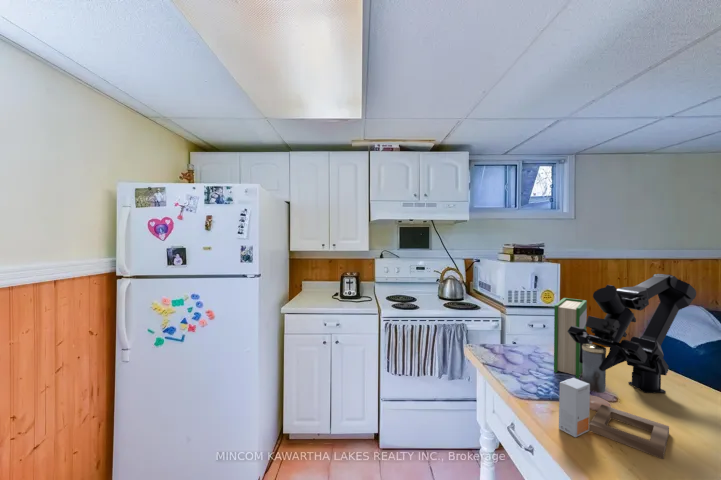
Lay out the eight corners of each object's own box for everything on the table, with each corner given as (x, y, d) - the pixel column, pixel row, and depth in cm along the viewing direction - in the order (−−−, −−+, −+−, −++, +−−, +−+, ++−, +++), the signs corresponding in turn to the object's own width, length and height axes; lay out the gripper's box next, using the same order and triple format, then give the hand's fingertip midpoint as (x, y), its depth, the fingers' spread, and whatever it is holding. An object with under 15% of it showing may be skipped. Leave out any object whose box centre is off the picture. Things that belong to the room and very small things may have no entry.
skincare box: (576, 438, 76) (576, 389, 76) (558, 428, 79) (558, 381, 79) (590, 431, 78) (590, 383, 78) (572, 422, 82) (572, 376, 82)
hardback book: (578, 378, 108) (579, 308, 107) (553, 372, 112) (554, 305, 112) (585, 362, 121) (586, 300, 120) (563, 357, 126) (563, 297, 125)
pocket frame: (601, 410, 88) (601, 404, 88) (668, 433, 78) (669, 426, 78) (589, 430, 79) (589, 423, 79) (663, 459, 69) (663, 451, 69)
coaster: (596, 396, 95) (596, 394, 95) (618, 411, 87) (618, 408, 87) (570, 397, 95) (570, 394, 95) (589, 411, 87) (589, 408, 87)
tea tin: (601, 385, 93) (601, 344, 93) (609, 394, 88) (609, 351, 87) (579, 382, 95) (579, 342, 94) (585, 391, 89) (585, 349, 89)
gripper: (571, 300, 101) (546, 339, 97) (641, 313, 84) (614, 361, 80) (587, 322, 104) (564, 360, 100) (658, 339, 87) (633, 386, 83)
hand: (590, 366), depth 91 cm, fingers closed on tea tin, 5 cm apart
